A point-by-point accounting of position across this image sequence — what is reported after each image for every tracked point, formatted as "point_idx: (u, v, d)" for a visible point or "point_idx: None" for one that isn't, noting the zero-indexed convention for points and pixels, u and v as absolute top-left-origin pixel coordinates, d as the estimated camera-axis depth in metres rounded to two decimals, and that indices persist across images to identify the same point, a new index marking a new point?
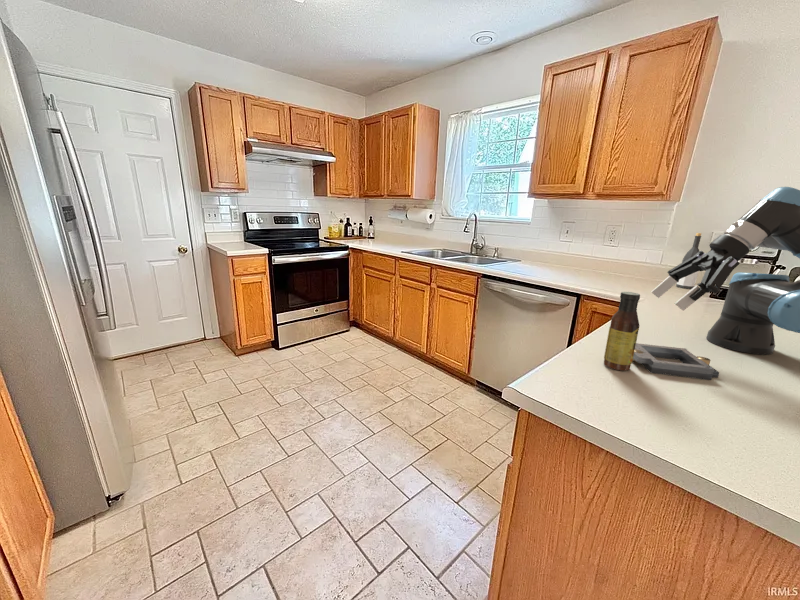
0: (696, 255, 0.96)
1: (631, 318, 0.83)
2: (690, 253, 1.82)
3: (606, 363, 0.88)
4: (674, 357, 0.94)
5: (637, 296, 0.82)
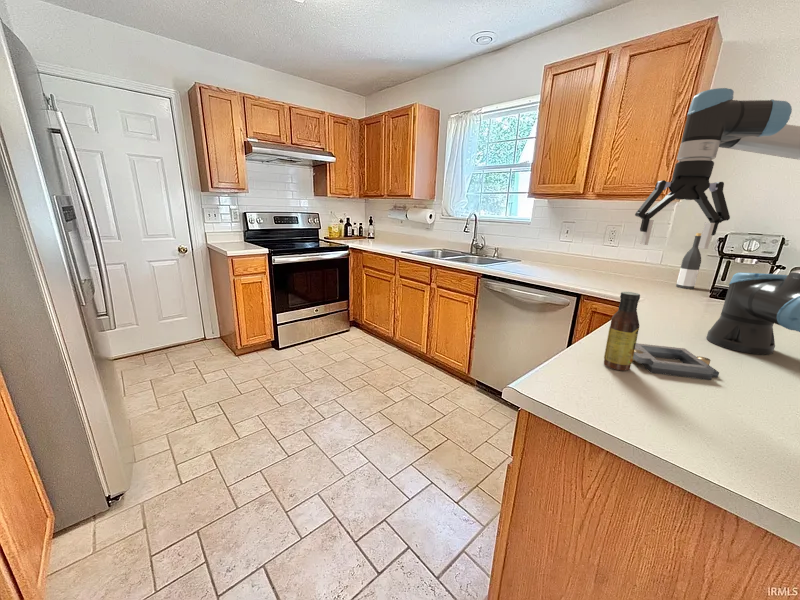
0: (663, 187, 0.86)
1: (631, 318, 0.83)
2: (690, 253, 1.82)
3: (606, 363, 0.88)
4: (674, 357, 0.94)
5: (637, 296, 0.82)
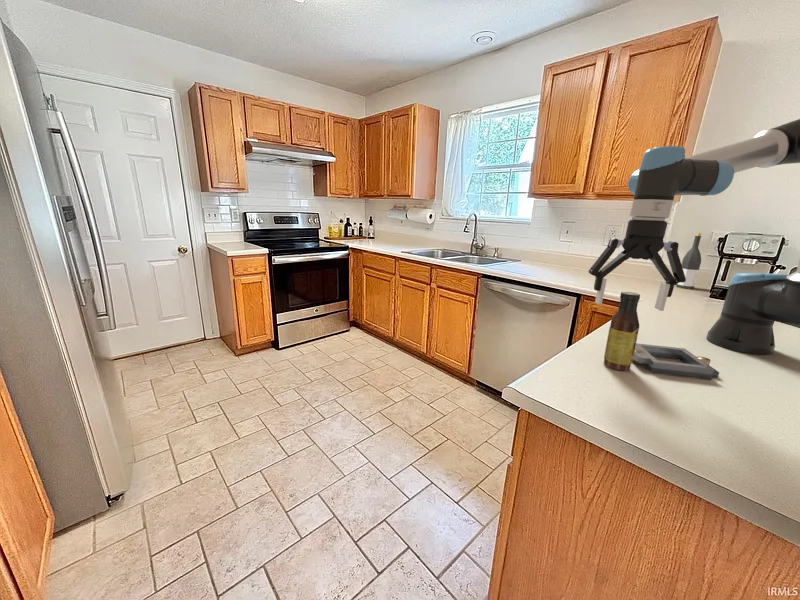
0: (615, 246, 0.80)
1: (631, 318, 0.83)
2: (690, 253, 1.82)
3: (606, 363, 0.88)
4: (674, 357, 0.94)
5: (637, 296, 0.82)
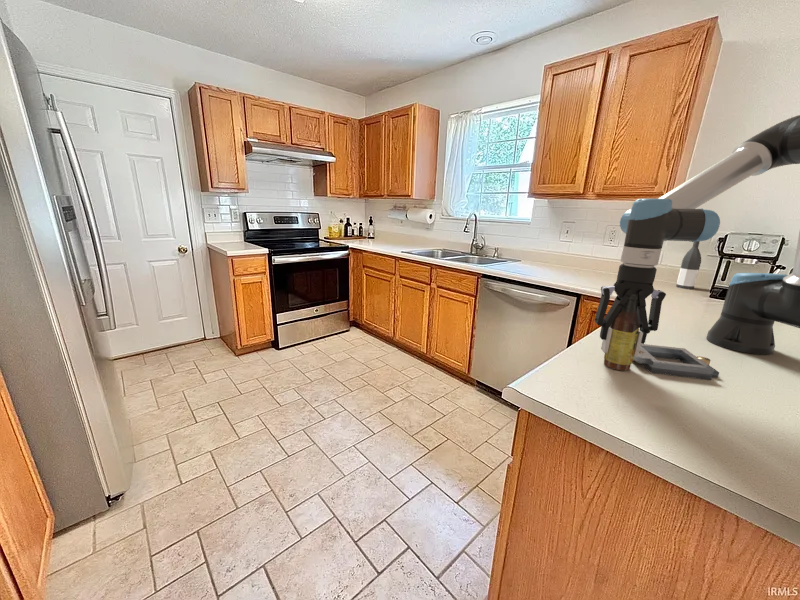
0: (608, 294, 0.83)
1: (631, 318, 0.83)
2: (690, 253, 1.82)
3: (606, 363, 0.88)
4: (674, 357, 0.94)
5: (637, 296, 0.82)
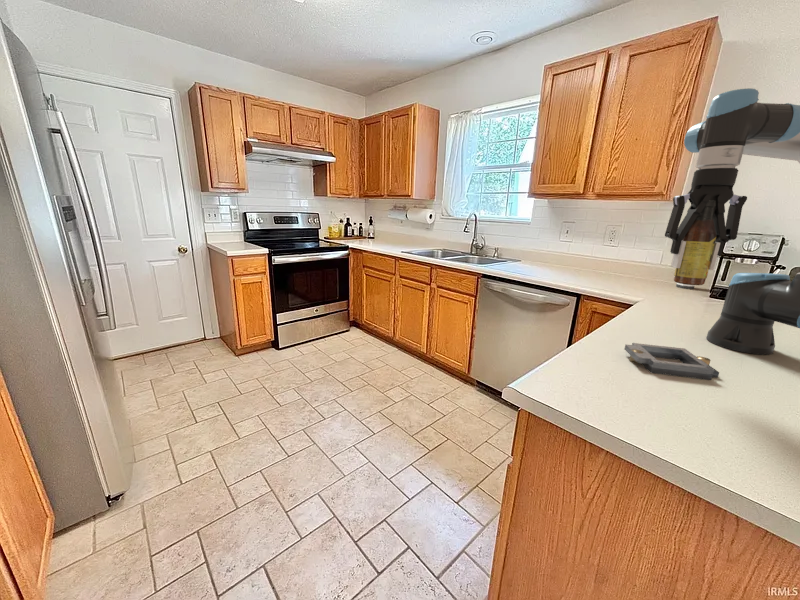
0: (683, 202, 0.79)
1: (708, 226, 0.78)
2: None
3: (678, 279, 0.83)
4: (674, 357, 0.94)
5: (715, 202, 0.77)
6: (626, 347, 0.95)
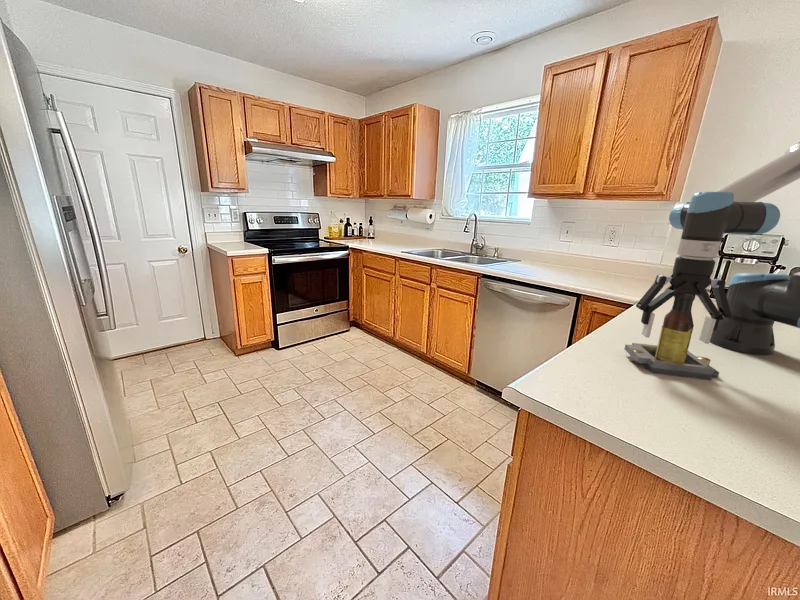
0: (663, 282, 0.84)
1: (686, 317, 0.84)
2: None
3: None
4: None
5: (693, 296, 0.84)
6: (626, 347, 0.95)
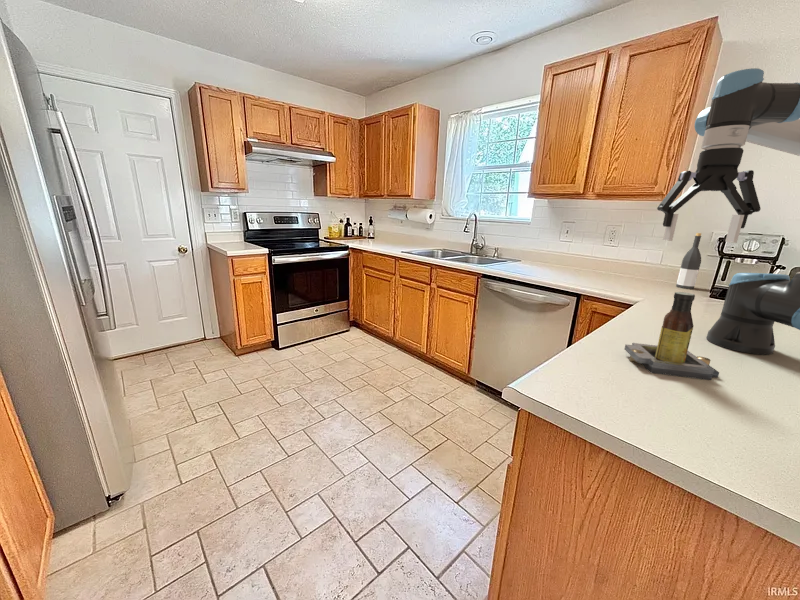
0: (688, 178, 0.80)
1: (686, 318, 0.84)
2: (690, 253, 1.82)
3: None
4: None
5: (692, 296, 0.83)
6: (626, 347, 0.95)
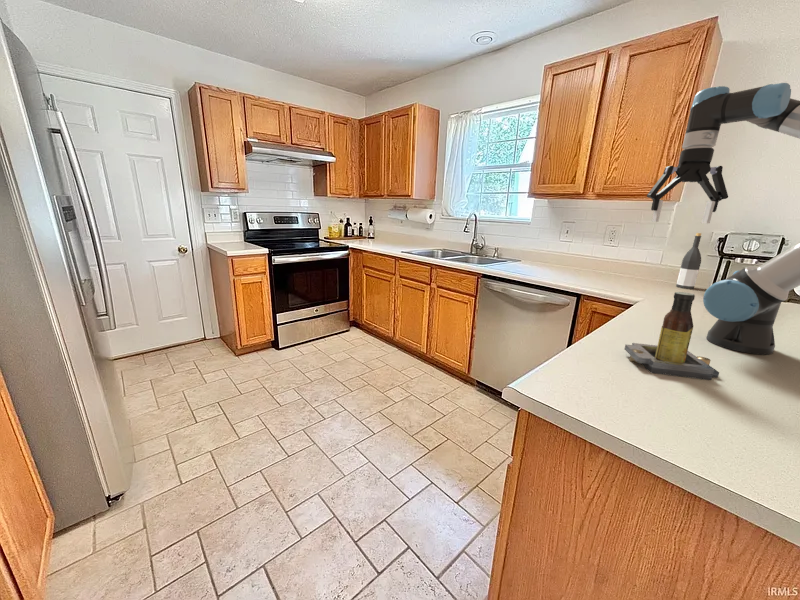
0: (670, 171, 1.01)
1: (686, 318, 0.84)
2: (690, 253, 1.82)
3: None
4: None
5: (692, 296, 0.83)
6: (626, 347, 0.95)
